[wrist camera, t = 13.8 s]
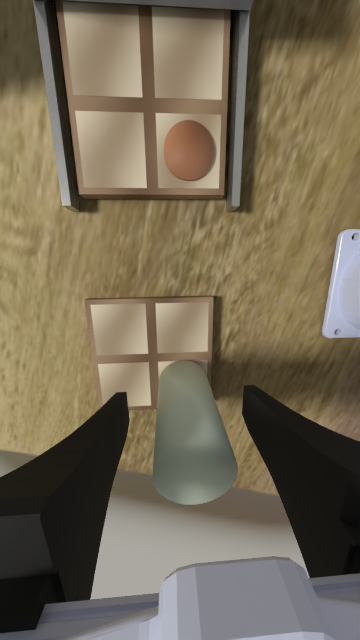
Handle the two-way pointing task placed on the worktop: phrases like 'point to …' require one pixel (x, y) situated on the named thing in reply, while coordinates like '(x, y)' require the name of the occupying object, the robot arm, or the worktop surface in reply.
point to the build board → (146, 342)
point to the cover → (188, 3)
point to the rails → (60, 115)
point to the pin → (190, 438)
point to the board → (146, 98)
